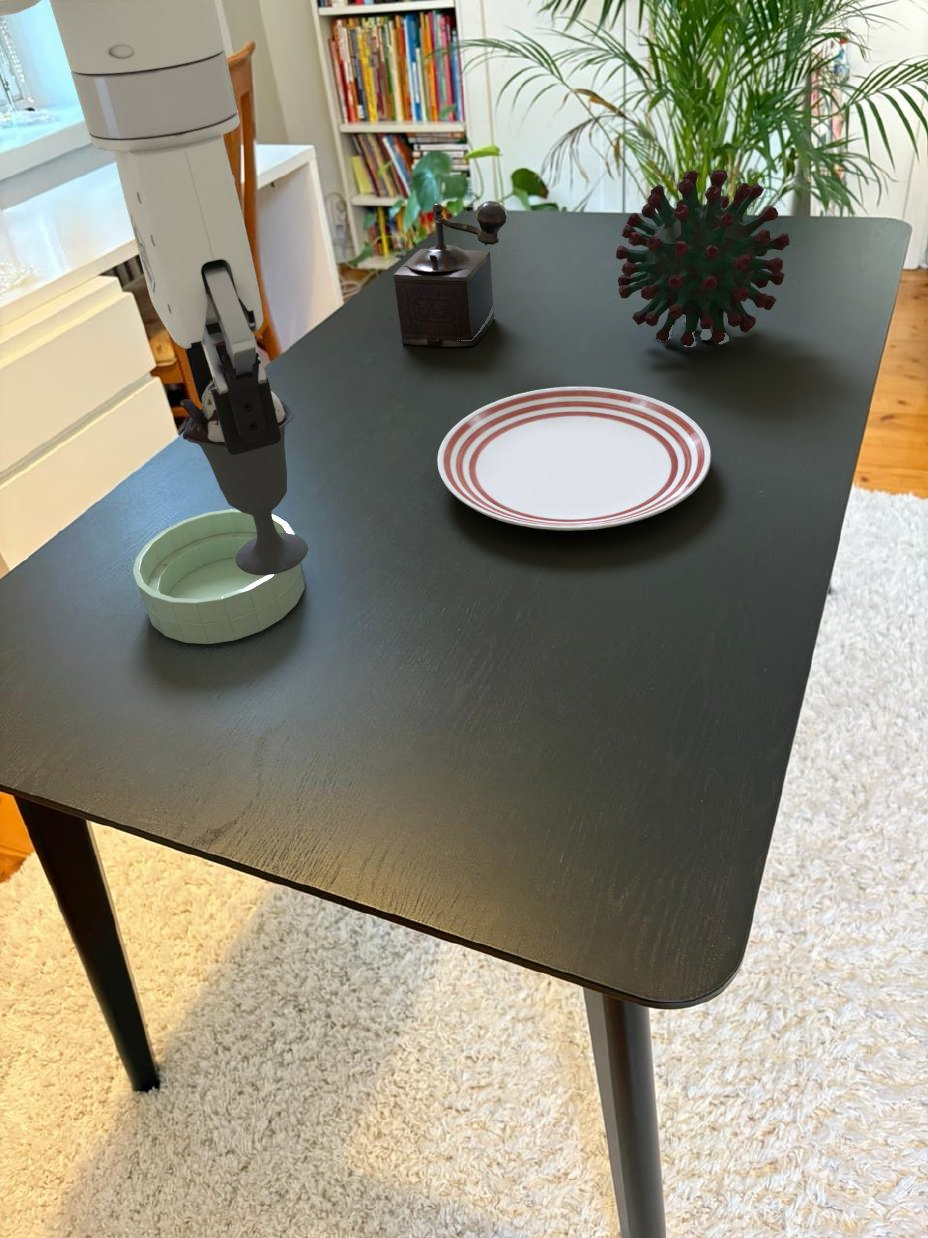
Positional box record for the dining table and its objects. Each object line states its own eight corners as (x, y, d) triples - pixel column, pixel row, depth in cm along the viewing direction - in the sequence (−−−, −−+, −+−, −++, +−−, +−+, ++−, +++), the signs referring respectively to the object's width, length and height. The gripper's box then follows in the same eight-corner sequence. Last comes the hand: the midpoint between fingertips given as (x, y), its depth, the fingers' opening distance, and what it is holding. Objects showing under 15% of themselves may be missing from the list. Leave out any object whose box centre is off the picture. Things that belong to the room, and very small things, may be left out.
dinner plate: (768, 485, 96) (772, 455, 94) (537, 588, 86) (536, 557, 84) (598, 390, 115) (598, 363, 113) (394, 465, 105) (390, 438, 103)
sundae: (339, 536, 67) (298, 327, 58) (284, 592, 63) (230, 374, 53) (261, 520, 70) (210, 317, 61) (203, 572, 65) (138, 361, 56)
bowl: (168, 669, 82) (151, 623, 79) (136, 582, 92) (120, 539, 89) (326, 613, 86) (316, 567, 83) (279, 536, 96) (268, 493, 93)
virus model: (675, 298, 134) (683, 141, 122) (808, 330, 123) (833, 160, 110) (583, 350, 124) (581, 184, 111) (720, 390, 112) (735, 210, 100)
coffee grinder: (397, 346, 130) (378, 206, 118) (425, 314, 138) (410, 179, 126) (509, 353, 125) (501, 207, 114) (532, 319, 133) (526, 179, 122)
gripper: (63, 88, 54) (153, 385, 65) (109, 147, 42) (211, 503, 53) (195, 67, 56) (260, 358, 67) (278, 117, 44) (341, 465, 55)
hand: (238, 419), depth 60 cm, fingers closed on sundae, 6 cm apart
